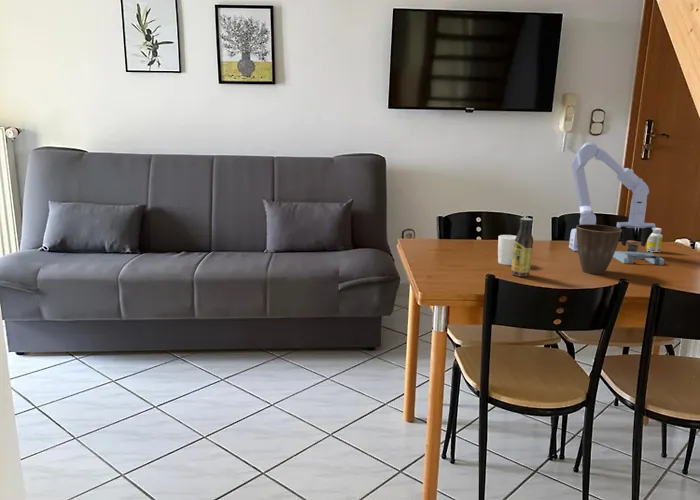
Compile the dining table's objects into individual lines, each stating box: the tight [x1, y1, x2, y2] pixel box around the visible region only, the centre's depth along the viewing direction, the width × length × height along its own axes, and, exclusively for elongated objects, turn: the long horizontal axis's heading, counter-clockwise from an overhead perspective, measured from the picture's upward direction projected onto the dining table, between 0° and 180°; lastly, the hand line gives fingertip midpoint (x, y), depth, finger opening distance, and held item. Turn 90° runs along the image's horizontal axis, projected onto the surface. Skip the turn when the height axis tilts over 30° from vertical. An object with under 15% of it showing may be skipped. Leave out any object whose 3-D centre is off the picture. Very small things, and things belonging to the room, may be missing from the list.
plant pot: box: [575, 224, 622, 275], centre depth 216 cm, size 15×15×16 cm
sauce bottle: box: [511, 217, 534, 278], centre depth 208 cm, size 6×6×20 cm
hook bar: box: [627, 254, 661, 266], centre depth 232 cm, size 12×2×3 cm, turn 88°
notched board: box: [612, 250, 665, 266], centre depth 238 cm, size 15×13×2 cm
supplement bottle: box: [646, 227, 663, 253], centre depth 254 cm, size 5×5×10 cm
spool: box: [626, 240, 641, 252], centre depth 247 cm, size 5×5×5 cm
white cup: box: [497, 234, 517, 266], centre depth 226 cm, size 8×8×10 cm
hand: (633, 245), depth 247 cm, fingers open, 7 cm apart
